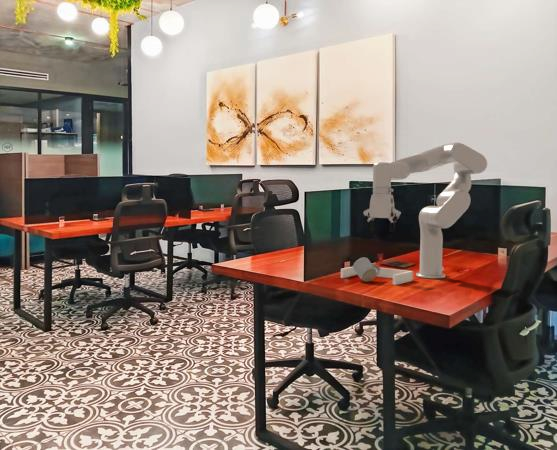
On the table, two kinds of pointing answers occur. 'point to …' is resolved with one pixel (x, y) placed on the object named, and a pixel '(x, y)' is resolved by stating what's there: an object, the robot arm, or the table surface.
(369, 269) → the ceramic mug
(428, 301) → the table surface
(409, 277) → the white u-shaped bracket
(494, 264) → the table surface
